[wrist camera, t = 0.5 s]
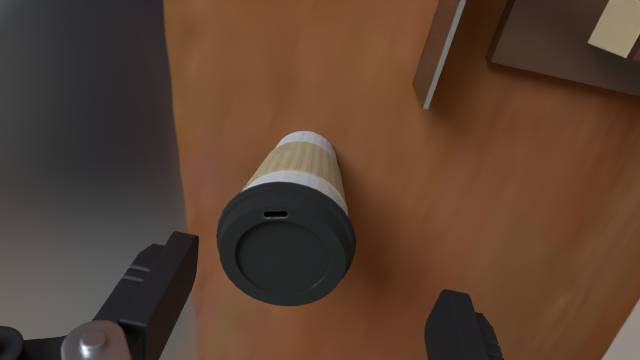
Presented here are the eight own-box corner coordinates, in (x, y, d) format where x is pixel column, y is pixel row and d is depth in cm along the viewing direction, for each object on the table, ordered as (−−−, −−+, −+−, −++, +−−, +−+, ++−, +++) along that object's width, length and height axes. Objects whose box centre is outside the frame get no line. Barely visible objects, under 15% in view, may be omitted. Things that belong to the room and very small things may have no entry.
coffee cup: (262, 203, 43) (223, 312, 30) (248, 114, 39) (195, 198, 26) (356, 201, 43) (357, 313, 29) (354, 110, 38) (354, 195, 25)
